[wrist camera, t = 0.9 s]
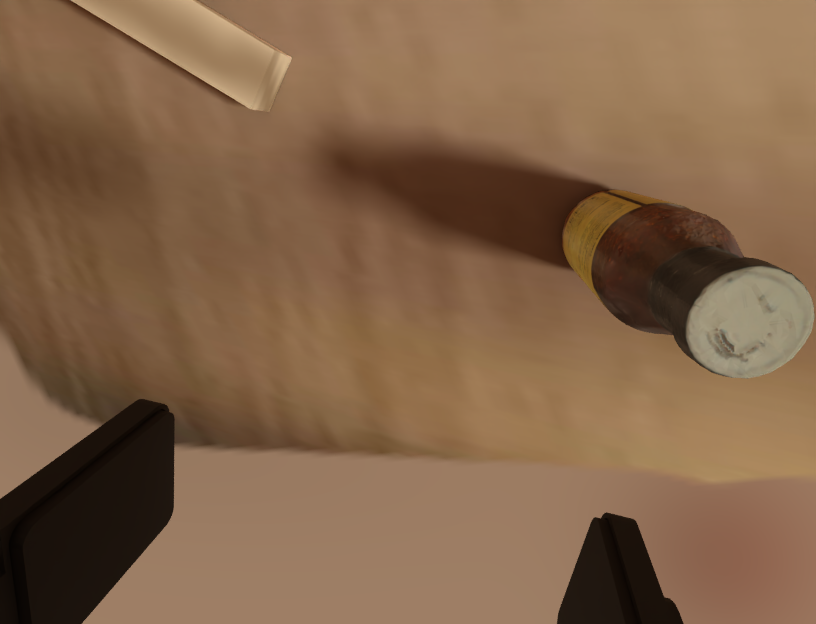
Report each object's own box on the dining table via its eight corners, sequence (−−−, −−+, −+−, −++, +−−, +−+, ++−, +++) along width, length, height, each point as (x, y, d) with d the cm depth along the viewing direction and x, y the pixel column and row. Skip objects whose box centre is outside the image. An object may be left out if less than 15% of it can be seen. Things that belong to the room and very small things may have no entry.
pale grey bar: (38, -97, 35) (-2, -119, 32) (292, 57, 35) (274, 50, 32) (25, -37, 36) (-15, -52, 33) (269, 111, 37) (250, 109, 34)
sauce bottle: (565, 283, 37) (636, 423, 18) (553, 197, 35) (620, 256, 17) (661, 267, 36) (844, 402, 17) (654, 177, 34) (850, 218, 15)
